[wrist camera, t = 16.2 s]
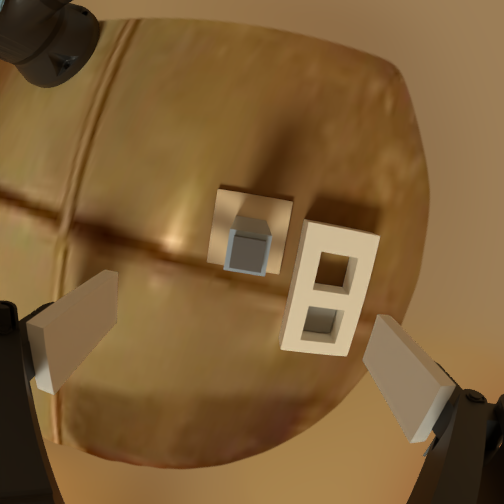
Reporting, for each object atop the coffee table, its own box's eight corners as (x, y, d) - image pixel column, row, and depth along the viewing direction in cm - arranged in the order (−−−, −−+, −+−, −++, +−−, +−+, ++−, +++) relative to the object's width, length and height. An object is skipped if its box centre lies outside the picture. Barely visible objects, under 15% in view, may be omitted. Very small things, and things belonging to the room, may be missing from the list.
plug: (236, 215, 42) (229, 229, 29) (266, 220, 42) (272, 237, 29) (231, 244, 43) (222, 271, 30) (260, 249, 43) (265, 278, 30)
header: (304, 218, 43) (308, 221, 39) (370, 232, 43) (380, 236, 40) (278, 338, 46) (280, 349, 43) (340, 345, 47) (346, 356, 43)
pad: (218, 188, 42) (217, 188, 41) (292, 201, 42) (292, 201, 41) (207, 261, 44) (206, 262, 43) (278, 272, 44) (279, 274, 44)
